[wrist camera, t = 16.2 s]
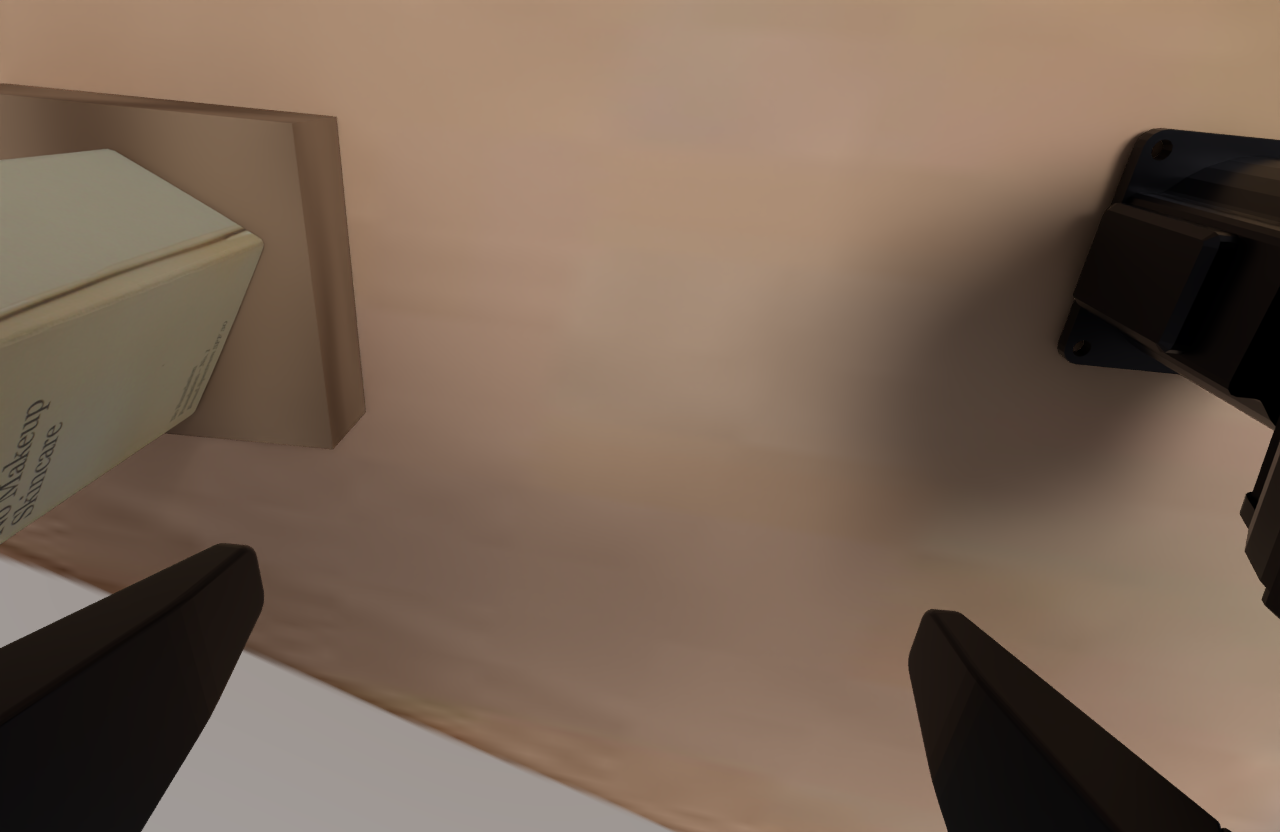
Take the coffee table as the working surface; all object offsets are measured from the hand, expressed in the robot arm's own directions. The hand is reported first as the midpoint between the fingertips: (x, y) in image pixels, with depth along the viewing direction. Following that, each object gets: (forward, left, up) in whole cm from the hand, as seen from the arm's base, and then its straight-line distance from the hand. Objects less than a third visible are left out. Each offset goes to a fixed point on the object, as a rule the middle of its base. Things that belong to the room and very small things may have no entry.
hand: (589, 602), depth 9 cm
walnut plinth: (+13, 0, -13) cm, 18 cm away
